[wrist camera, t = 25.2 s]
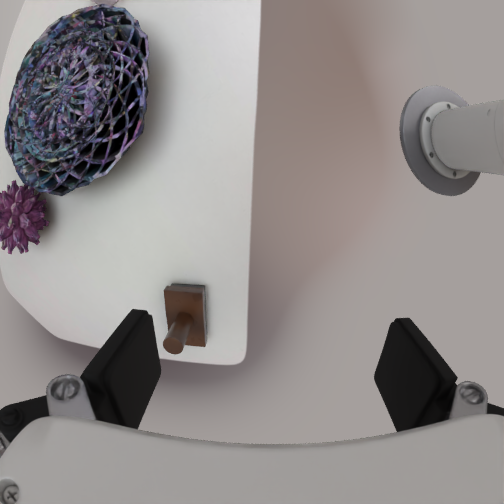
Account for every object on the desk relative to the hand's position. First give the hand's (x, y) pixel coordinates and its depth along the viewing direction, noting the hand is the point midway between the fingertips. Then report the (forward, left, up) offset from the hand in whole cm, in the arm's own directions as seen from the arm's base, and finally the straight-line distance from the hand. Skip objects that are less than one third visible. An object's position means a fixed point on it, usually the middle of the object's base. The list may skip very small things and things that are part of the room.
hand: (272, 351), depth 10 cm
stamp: (+17, +5, -28) cm, 33 cm away
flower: (+30, -24, -28) cm, 48 cm away
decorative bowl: (+10, -30, -28) cm, 43 cm away
